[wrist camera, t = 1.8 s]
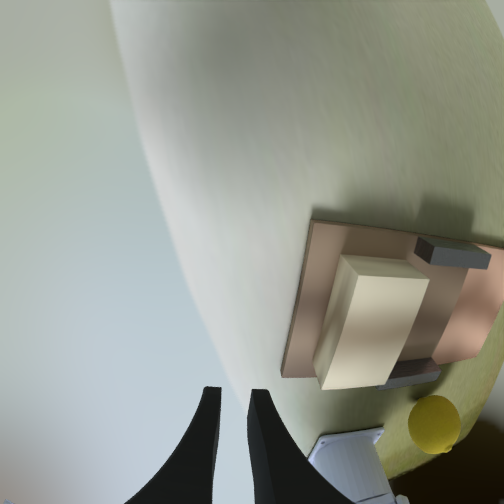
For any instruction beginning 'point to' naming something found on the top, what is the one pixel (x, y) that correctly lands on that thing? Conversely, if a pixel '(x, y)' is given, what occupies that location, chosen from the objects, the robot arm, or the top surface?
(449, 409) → the lemon
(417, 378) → the channel
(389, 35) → the top surface
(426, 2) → the top surface
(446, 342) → the board
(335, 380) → the block
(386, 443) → the top surface
